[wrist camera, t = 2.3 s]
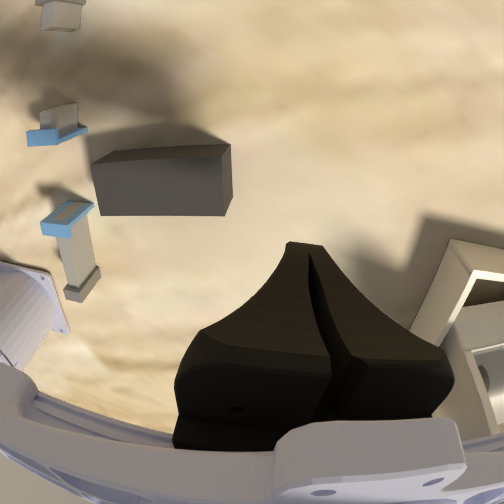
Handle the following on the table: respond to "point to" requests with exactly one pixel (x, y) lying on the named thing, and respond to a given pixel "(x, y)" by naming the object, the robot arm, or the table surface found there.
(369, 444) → the robot arm
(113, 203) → the charcoal brick
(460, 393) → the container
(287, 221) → the table surface
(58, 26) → the blue capped pillar
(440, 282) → the container tray
